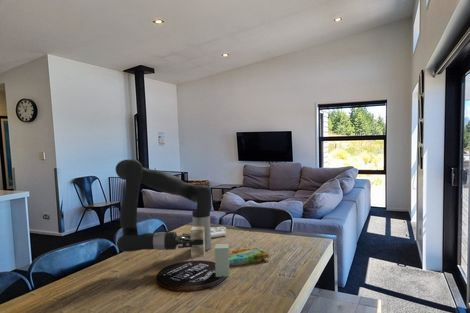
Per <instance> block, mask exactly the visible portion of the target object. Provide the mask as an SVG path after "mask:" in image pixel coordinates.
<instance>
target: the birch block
mask: <svg viewBox="0 0 470 313" xmlns="http://www.w3.org/2000/svg"><path fill="white" fill-rule="evenodd" d="M190 234H191V239H193V240H199V239H202V240H203V245H194V246H192V247H190V255H191V256H190V257H191V258H205V255H206V250H205V230H204V226H203V227H193V226H192V227H191V229H190Z"/></svg>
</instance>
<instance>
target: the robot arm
mask: <svg viewBox="0 0 470 313" xmlns="http://www.w3.org/2000/svg"><path fill="white" fill-rule="evenodd" d="M115 173H116V175H117V176H118V178H120V179H121V180H124V181H125V193H124V198H123V199H122V203H121V206H120V214H119V217H120V218H119V224H120V227H121V228H122V235H121V236H120V237H119V238H118V240H117V241H116V242H117V243H116V246H117V247H118V249H119V250H120V251H122V252H126V253H127V252H135V251H136V252H137V251H142V250H147V251H148V250H158V251H164V250H165V251H167V250H171V251H173V250H176V249H185V248H187V249H188V248H191V247H192V246H194V245H203V240H202V239H199V240H193V239H191V233H182V234H181V235H178V234H177V232H176V231H163V232H162V231H161V232H160V231H159V232H146V233H142V234H139V233H138V226H137V225H138V224H137V222H138V221H137V220H138V203H139V194H140V191H141V190H140V189H141V184H142V185H144V186H147V187H149V188H152V189H154V190H157V191H159V192H162V193H166V194H168V195H175V196H180V197H183V198H184V199H186V200H189V201H191V202H194V203H196V208H195V209H193V210H192V214H191V215H192V217H191V218H192V227H203V226H204V230H205V251H207V250H210V249H212V238H211V210H212V191H211V189H210V187H209V186H207V185H201V184H193V183H188V182H185V181H183V180H182V179H181V178H180V177H178V176H176V175H174V174H171V173H169V172H165V171H160V170H156V169H151V168H150V169H149V168H147V167H144V166H143V165H142V163H141V162H140V161H138V160H136V159H122V160H121V161H119V162H117V164H116V166H115Z"/></svg>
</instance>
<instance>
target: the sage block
mask: <svg viewBox="0 0 470 313" xmlns="http://www.w3.org/2000/svg"><path fill="white" fill-rule="evenodd" d="M229 251H230V250H229V243H218V244H217V243H216V244H214V265H215V268H214V269H215V278H216V277H217V278H222V276H223V277H225V278H226V277H230V266H229Z"/></svg>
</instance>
